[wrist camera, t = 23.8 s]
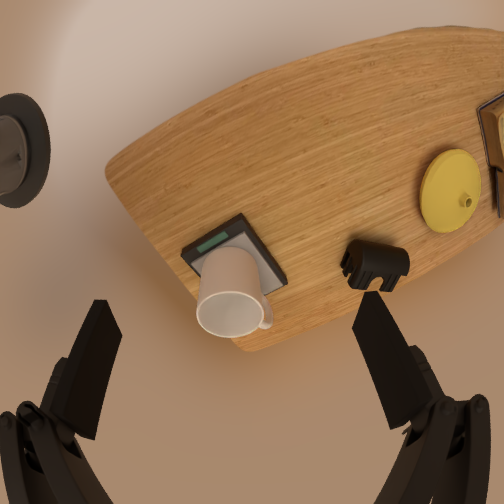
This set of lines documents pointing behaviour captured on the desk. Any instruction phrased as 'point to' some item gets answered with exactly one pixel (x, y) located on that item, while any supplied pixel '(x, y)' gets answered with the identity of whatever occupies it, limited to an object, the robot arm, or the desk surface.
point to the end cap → (374, 264)
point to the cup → (231, 295)
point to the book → (494, 142)
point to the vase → (450, 190)
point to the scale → (242, 237)
